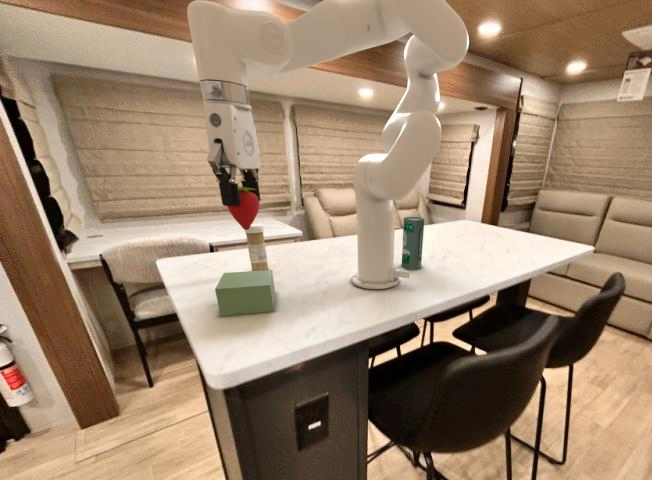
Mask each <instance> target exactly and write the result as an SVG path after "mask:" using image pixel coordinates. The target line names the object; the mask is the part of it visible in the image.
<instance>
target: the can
mask: <svg viewBox="0 0 652 480" xmlns="http://www.w3.org/2000/svg"><path fill="white" fill-rule="evenodd" d="M402 226H403V227H402V228H403V229H402V247H401V248H402V250H401V267H402V269H405V270H412V271H415V270H420V269H421V268H422V261H423V260H422V259H423V244H424V231H425V218H424V217H418V216H406V217H403V224H402Z"/></svg>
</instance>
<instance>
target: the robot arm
mask: <svg viewBox="0 0 652 480" xmlns="http://www.w3.org/2000/svg"><path fill="white" fill-rule="evenodd" d="M186 13H187V15H186V16H187V22H188V26H189V27H188V28H189V32H190V38H191V42H192V48H193V54H194V60H195V64H196V72H197V76H198V77H197V78H198V82H199V87H200V93H201V98H202V103H203V106H204V118H205V120H204V121H205V129H206V136H207V137H206V138H207V144H208V151H209V153H208V154H207V156H206V160H207V162H208V164H209V166H210V167H211V171H212V173H213V174H214V176H215V180H216V182H217V183H218V187H219V193H220V199H221V203H222V204H221V205H222V206H224V207H227V206H241V201H240V195H239V185H238V184H239V182H238V183H237V182H236V176H237V170H239V172H240V175H241V177H242V178H243V179H242V181H241V180H240V181H241V182H240V183H241V187H245V188H252V189H256V190H249V192H252V193H254V194H255V195H256V196H257V197H258V200H259V202H261V193H260V185H259V180H260V178H259V175H258V174H259V168H261V167H262V159H261V158H262V157H261V152H260V151H261V150H260V145H259V140H258V134H257V128H256V125H255V121H254V117H253V114H252V104H251V95H250V87H249V78H248V72H247V70H248V71H249V72H251V74H252V75H255V76H256V77H258V78H261V79H272V78H277V77H280V76H283V75H287V74H289V73H294V72H297V71H300V70H303V69H306V68H309V67H313V66H315V65H319V64H322V63H327V62H330V61H334V60H337V59H339V58H342V57H345V56H348V55H351V54H355V53H358V52H362V51H364V50H368V49H371V48H375V47H379V46H383V45H386V44H390V43H392V42H395V41H396V40H398V39H400V38H402V37H404V36H406V35H408V34H409V33H411V34H412V36H410V38H409V39H408V41H407V43H406V45H405V48H404V66H405V70H406V75H407V88H406V91H405V93H404V94H403V96H402V98H401V100H400V101H399V104H398V105H397V106H396V108H395V109H394V111H393V113H392V114H391V116H390V118H389V119H388V121H387V122H386V124H385V126H384V127H383V130H382V132H381V136H380V143H381V147H382V149H383V151H384V152H385V153H370V154H366V155H364V156H362V157H361V158H360V159H359V160H358V161H357V163H356V164H355V166H354V169H353V173H352V183H353V189H354V196H355V203H356V204H355V205H356V219H357V220H356V233H357V235H356V236H357V237H356V239H357V240H356V241H357V243H356V244H357V245H356V246H357V272H356V273H354V274H353V275H352V277H351V278H352V279H351V282H352V283H353V285H355V286H357V287H359V288H362V289H366V290H367V289H368V290H384V289H385V290H386V289H389V288H393V287H395V286H396V285H398V284H399V279H400V278H403V279H410V276H411V271H410V270H406V269H405V268H398V267H396V263H395V262H394V259H395V257H394V253H395V231H396V230H395V224H396V211H395V204H394V201H396V202H397V201H401V200H404V199H406V198H407V197H408V196H410V195H411V193H412V192H413V191H414V190H415V188H416V187H417V185H418V184H419V182H420V181H421V179H422V178H423V176H424V174H425V173H426V171H427V170H428V168H429V167H430V165H431V163H432V162H433V161H434V159H435V158H436V155H437V154H438V152H439V150H440V146H441V142H442V136H443V135H442V134H443V132H442V125H441V123H440V120H439V119H438V117H437V116H436V115H437V112H438V111H439V109H440V108H439V107H440V102H441V94H440V93H441V92H440V85H439V81H438V76H437V75H438V74H439V73H443V72H445V71H448V70H451V69H453V68H455V67H457V66H459V64H460V63H462V61H463V60H464V59H465V57H466V55H467V53H468V49H469V43H470V41H469V39H470V38H469V33H468V29H467V27H466V24H465V23H464V20H463V19H462V18H461V16H460V14H458V13H457V12H456V11H455V9H454V8H453V7H452V6H451V5H450V4H449V3H448V2H447V1H446V0H321V1H320V2H318V3H316V4H315V5H314V6H313V7H311V8H310V9H308V10H307V11H306V12H304V13H303V14H301V15H300V16H298V17H296V18H294V19H291V20H289V21H286V22H285V21H284V20H282V19H281V18H280V17H279V16H277V15H275V14H273V13H270V12H268V11H262V10H253V9H251V10H250V9H240V8H239V9H238V8H230V7H228V6H226V5H224V4H221V3H219V2H217V1H212V0H193V1H191V2H190V3H189V4H188V5H187V8H186ZM237 168H238V169H237Z"/></svg>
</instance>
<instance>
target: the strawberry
mask: <svg viewBox="0 0 652 480" xmlns="http://www.w3.org/2000/svg"><path fill="white" fill-rule="evenodd" d="M243 180H244V179H243V177H242V178H241V180H240V181H239V182H238V188H239V195H240V201H241V206H226V207H227V209H228V212H229V213H230V215H231V216H232V217H233V219H234V220H235V221H236V222H237V223H238V224H239V225H240V227H241V228H242V229H243V230H244V231H245V230H248V229H249V228H250V226H251V224H253V223H254V221H255V219H256V217H257V216H258V214H259V210H260V201H259V200H258V197H257V196H256V195H255V194H254V193H252V192H249V190H256V189H252V188H245V187H242V186H240V183H242V182H241V181H243Z"/></svg>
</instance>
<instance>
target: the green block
mask: <svg viewBox="0 0 652 480" xmlns="http://www.w3.org/2000/svg"><path fill="white" fill-rule="evenodd" d="M273 274H274V273H273V270H272V269H269V270H264V271H252V270H251V271H236V272H235V271H232V272H231V271H230V272H223V273H222V275H221V278H220V279H219V281H218V283H217V284H216V287H215V288H214V291H215V295H216V299H217V305H218V309H219V315H220V317H229V316H239V315H241V316H242V315H250V314H259V313H260V314H261V313H269V312H274V311H275V301H276V289H275V288H276V287H275V282H274V281H275V280H274V275H273Z"/></svg>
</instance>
